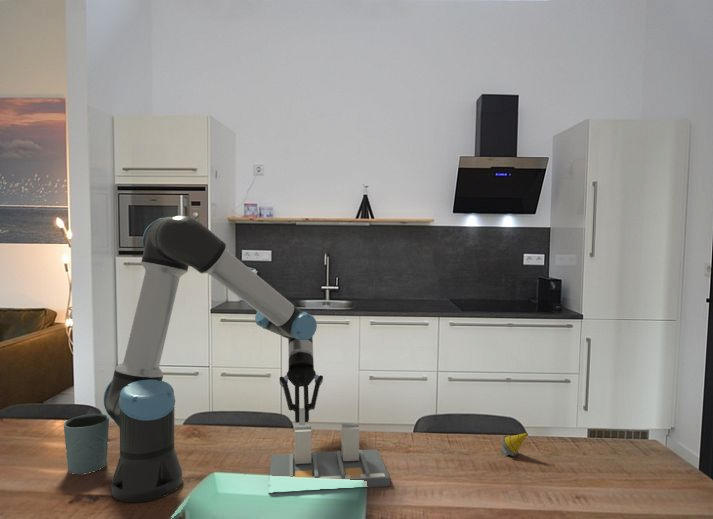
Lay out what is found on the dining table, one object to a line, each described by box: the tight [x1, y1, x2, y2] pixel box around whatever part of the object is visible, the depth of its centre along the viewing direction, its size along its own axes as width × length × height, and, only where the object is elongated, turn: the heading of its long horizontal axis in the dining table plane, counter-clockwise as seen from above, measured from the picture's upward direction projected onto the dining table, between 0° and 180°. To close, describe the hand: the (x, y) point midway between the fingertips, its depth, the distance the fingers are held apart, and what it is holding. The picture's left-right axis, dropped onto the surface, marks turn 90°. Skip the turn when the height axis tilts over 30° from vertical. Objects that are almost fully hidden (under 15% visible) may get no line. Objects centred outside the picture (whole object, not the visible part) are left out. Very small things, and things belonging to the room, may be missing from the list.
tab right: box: [341, 422, 360, 461], centre depth 122 cm, size 4×4×9 cm
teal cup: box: [63, 413, 110, 474], centre depth 121 cm, size 10×10×12 cm
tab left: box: [294, 424, 312, 464], centre depth 120 cm, size 4×4×9 cm
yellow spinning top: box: [500, 432, 529, 457], centre depth 130 cm, size 5×5×10 cm
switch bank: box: [269, 448, 391, 488], centre depth 118 cm, size 28×16×3 cm, turn 98°
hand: (302, 433), depth 129 cm, fingers closed
